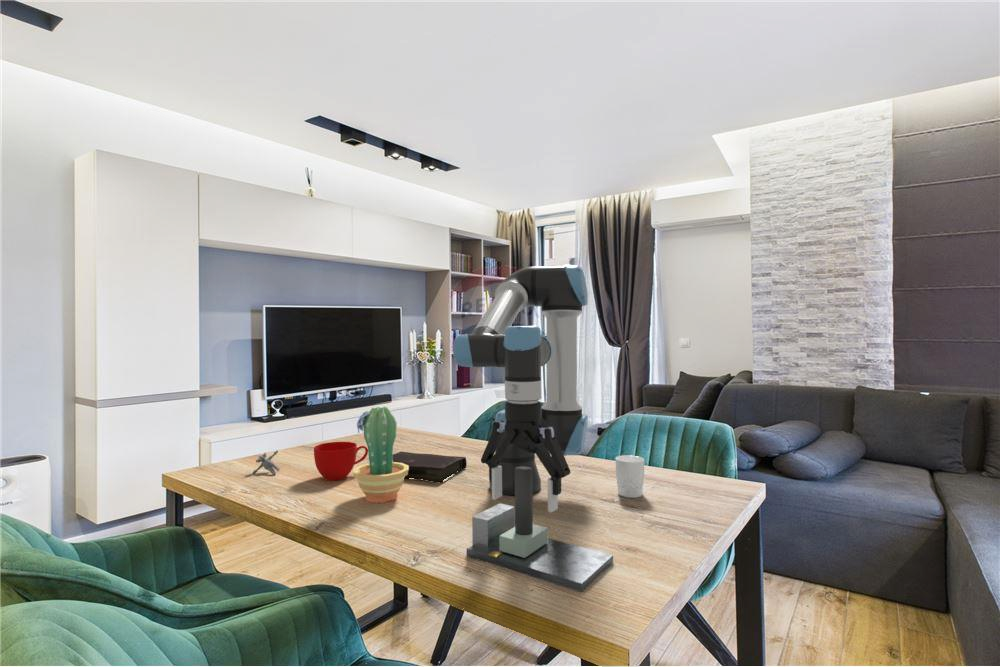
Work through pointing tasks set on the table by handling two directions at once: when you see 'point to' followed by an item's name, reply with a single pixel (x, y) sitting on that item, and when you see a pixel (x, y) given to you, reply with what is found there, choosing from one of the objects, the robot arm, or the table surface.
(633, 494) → the white cup
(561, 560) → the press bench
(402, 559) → the table surface
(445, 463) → the diary
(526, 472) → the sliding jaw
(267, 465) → the grey figurine
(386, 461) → the potted cactus
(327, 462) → the ceramic cup
